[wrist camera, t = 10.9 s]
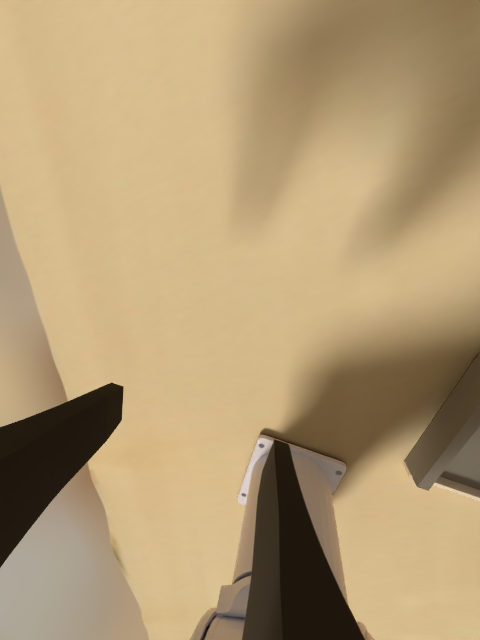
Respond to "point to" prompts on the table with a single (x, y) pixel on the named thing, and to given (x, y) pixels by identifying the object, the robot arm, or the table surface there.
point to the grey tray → (452, 442)
